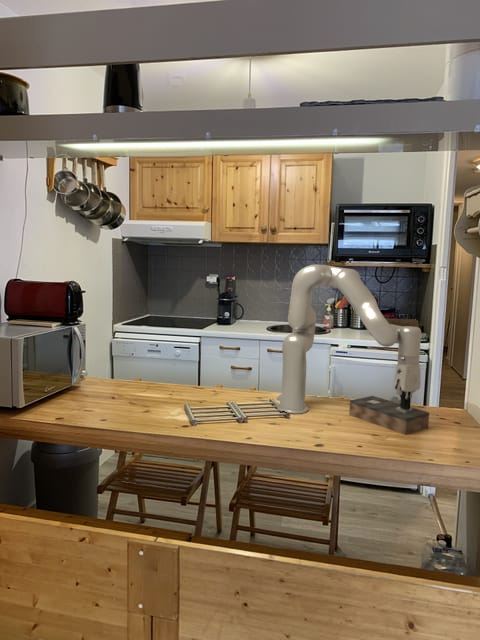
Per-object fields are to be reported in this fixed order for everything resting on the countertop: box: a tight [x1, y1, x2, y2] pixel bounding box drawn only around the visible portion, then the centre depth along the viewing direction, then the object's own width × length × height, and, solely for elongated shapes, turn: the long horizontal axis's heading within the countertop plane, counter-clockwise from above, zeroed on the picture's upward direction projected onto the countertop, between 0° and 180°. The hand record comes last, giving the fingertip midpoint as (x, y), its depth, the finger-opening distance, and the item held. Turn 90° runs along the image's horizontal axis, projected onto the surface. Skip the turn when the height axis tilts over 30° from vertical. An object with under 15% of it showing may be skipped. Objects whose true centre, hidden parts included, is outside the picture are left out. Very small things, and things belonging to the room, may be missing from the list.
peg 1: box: [366, 400, 381, 404], centre depth 192 cm, size 4×4×6 cm
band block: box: [348, 395, 430, 436], centre depth 186 cm, size 26×14×6 cm, turn 36°
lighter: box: [389, 396, 401, 404], centre depth 203 cm, size 7×2×8 cm, turn 78°
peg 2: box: [396, 407, 412, 414], centre depth 181 cm, size 4×4×6 cm
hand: (405, 408), depth 180 cm, fingers closed
